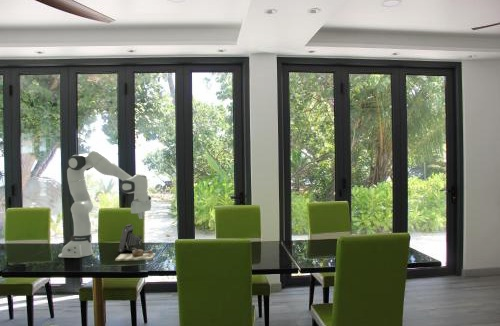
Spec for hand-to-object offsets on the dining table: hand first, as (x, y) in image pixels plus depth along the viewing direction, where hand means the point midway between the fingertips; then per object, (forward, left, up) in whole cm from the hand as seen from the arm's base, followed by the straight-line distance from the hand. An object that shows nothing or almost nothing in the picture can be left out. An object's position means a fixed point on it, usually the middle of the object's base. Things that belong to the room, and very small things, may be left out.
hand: (141, 218), depth 258 cm
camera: (-11, +23, -27) cm, 37 cm away
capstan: (0, +5, -26) cm, 26 cm away
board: (-4, +2, -27) cm, 28 cm away
